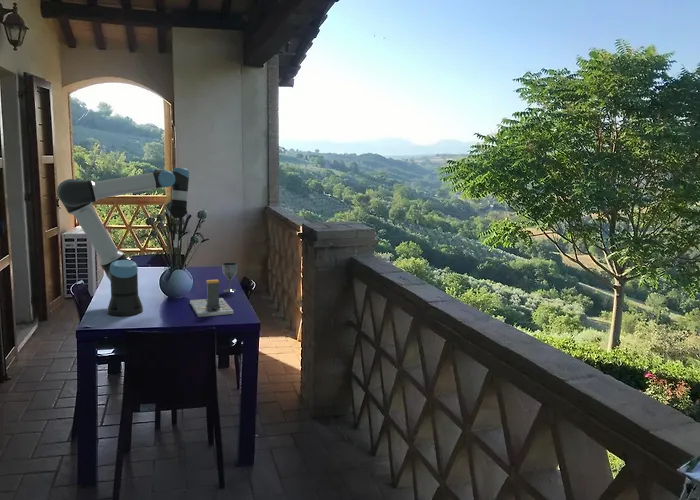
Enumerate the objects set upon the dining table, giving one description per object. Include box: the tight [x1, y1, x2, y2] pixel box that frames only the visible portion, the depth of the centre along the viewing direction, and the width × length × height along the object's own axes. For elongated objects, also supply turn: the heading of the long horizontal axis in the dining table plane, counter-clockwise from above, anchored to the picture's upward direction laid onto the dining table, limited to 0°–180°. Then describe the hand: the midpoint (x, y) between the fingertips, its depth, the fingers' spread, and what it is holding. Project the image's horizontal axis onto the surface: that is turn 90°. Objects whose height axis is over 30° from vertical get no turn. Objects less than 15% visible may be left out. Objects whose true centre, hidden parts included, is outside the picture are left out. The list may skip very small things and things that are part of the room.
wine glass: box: [221, 261, 238, 293], centre depth 309 cm, size 8×8×15 cm
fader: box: [206, 278, 221, 309], centre depth 267 cm, size 6×5×13 cm
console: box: [189, 297, 234, 318], centre depth 273 cm, size 16×26×2 cm, turn 23°
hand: (175, 247), depth 282 cm, fingers closed
